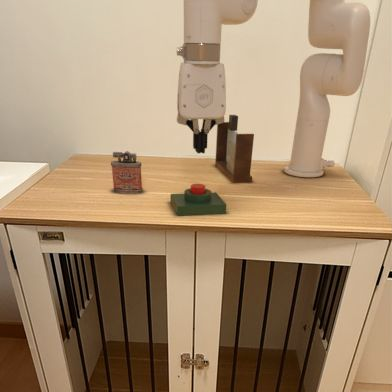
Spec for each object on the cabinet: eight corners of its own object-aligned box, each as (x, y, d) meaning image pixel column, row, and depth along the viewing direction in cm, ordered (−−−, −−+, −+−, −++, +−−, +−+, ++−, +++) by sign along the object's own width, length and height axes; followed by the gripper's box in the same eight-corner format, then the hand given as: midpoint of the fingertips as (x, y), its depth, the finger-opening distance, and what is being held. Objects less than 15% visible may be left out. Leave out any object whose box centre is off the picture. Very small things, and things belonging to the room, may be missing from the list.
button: (203, 190, 102) (203, 183, 101) (206, 195, 99) (207, 187, 98) (189, 191, 101) (189, 183, 100) (192, 195, 98) (192, 188, 97)
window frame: (232, 164, 140) (235, 121, 132) (252, 182, 123) (257, 134, 115) (215, 165, 139) (217, 121, 131) (233, 183, 122) (237, 134, 114)
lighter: (143, 190, 113) (141, 151, 107) (141, 193, 110) (139, 153, 104) (114, 189, 113) (111, 149, 107) (112, 192, 111) (108, 152, 104)
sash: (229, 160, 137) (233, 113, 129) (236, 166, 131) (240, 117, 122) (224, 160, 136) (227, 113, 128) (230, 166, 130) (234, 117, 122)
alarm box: (215, 200, 107) (216, 185, 105) (225, 213, 100) (227, 196, 97) (170, 202, 105) (170, 186, 103) (177, 215, 97) (177, 198, 95)
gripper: (168, 55, 79) (170, 156, 91) (242, 56, 82) (235, 154, 93) (163, 53, 85) (165, 149, 96) (231, 54, 88) (226, 147, 99)
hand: (200, 151), depth 95 cm, fingers closed
